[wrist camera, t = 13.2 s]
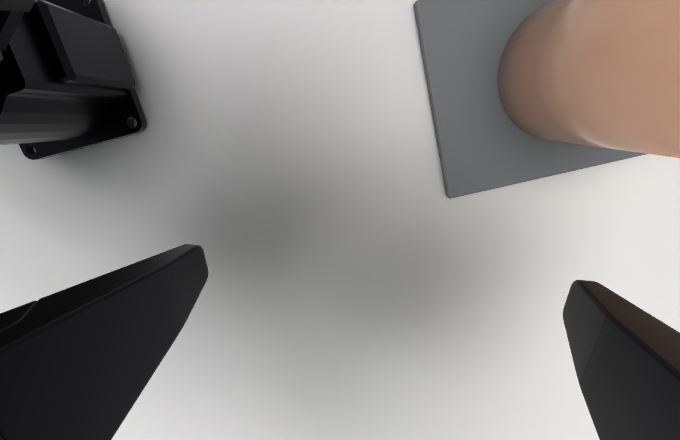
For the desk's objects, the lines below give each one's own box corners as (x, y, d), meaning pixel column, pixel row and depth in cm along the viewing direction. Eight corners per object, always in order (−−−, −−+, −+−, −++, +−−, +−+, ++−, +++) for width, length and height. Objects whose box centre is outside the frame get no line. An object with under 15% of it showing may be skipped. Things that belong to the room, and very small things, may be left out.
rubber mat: (446, 196, 19) (449, 198, 18) (413, 5, 16) (415, 1, 16) (697, 139, 17) (709, 140, 17) (698, -75, 15) (711, -83, 15)
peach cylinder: (506, 154, 17) (671, 198, 8) (488, 19, 16) (666, -110, 7) (640, 122, 17) (978, 131, 8) (634, -23, 15) (1051, -228, 6)
